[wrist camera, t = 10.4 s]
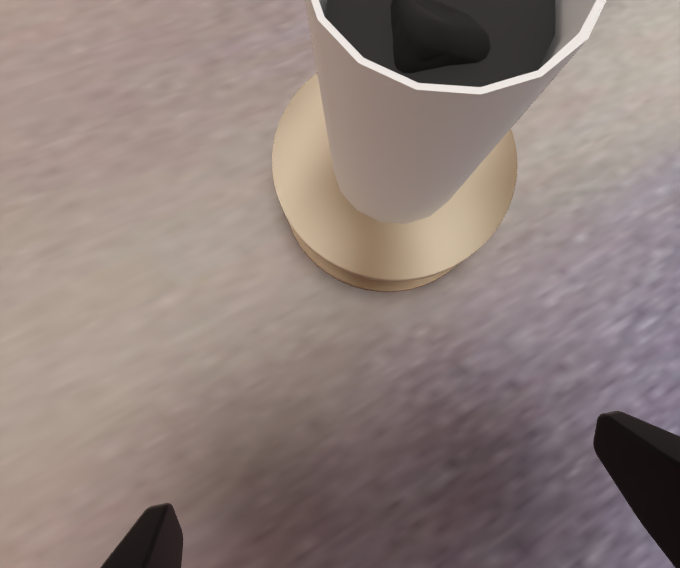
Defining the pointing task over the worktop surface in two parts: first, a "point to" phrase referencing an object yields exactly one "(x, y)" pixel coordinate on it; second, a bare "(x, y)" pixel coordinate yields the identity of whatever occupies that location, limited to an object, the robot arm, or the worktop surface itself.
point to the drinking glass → (431, 88)
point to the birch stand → (367, 233)
